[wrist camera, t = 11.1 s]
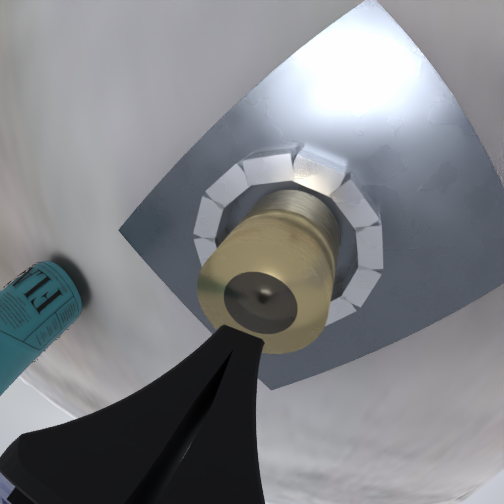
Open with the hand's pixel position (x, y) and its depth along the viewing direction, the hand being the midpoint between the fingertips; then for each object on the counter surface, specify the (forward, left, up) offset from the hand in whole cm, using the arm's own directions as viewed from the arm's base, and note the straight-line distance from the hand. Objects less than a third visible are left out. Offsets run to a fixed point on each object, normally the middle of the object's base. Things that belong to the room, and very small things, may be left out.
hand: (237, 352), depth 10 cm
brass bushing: (0, 0, -8) cm, 8 cm away
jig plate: (-1, -1, -9) cm, 9 cm away
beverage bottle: (+8, +20, -10) cm, 24 cm away
